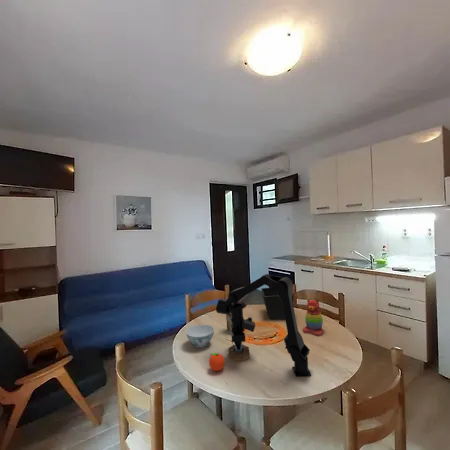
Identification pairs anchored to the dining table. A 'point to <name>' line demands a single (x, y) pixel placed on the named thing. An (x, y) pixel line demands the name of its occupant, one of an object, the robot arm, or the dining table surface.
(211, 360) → the clementine
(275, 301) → the black bin
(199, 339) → the chinaware
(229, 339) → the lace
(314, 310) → the stacking bear
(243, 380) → the dining table surface
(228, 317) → the coffee box
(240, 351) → the tapered blue cylinder
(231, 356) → the bead
